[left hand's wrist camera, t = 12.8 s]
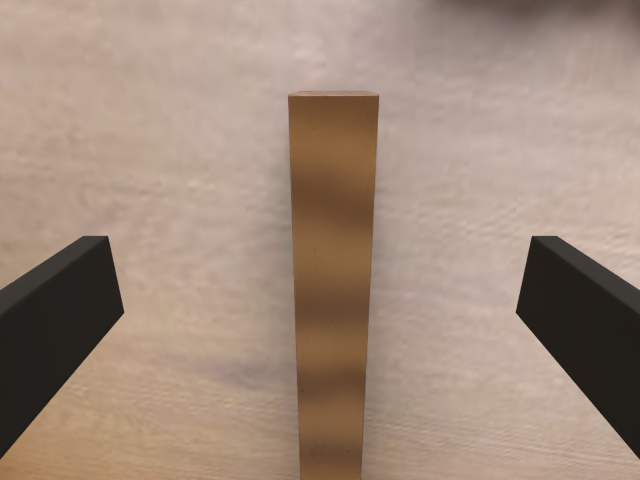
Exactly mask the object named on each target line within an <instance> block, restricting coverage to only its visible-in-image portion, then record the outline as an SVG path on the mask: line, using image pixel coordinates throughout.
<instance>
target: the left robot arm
mask: <svg viewBox="0 0 640 480" xmlns="http://www.w3.org/2000/svg"><path fill="white" fill-rule="evenodd" d="M123 314H124V309H123V304H122V299H121V295H120V290H119V285H118V281H117V276H116V271H115V266H114V262H113V257H112V252H111V248H110V243H109V238H108V236H82V237H81V238H79V239H78V240H76V241H75V242H73V243H72V244H70V245H69V246H67V247H66V248H64V249H63V250H61V251H60V252H58V253H56V254H55V255H53V256H52V257H50V258H49V259H47V260H46V261H44V262H43V263H41V264H40V265H38V266H37V267H35V268H34V269H32V270H31V271H29V272H27V273H26V274H24V275H23V276H21V277H20V278H18V279H17V280H15V281H14V282H12V283H11V284H9V285H8V286H6V287H5V288H3V289H1V290H0V459H1V458H2V457H3V456H4V454H5V453H6V452H7V451H8V450H9V448H10V447H11V446H12V445H13V444H14V443H15V441H16V440H17V439H18V438H19V437H20V435H21V434H22V433H23V432H24V431H25V430H26V428H27V427H28V426H29V425H30V424H31V422H32V421H33V420H34V419H35V418H36V417H37V415H38V414H39V413H40V412H41V411H42V409H43V408H44V407H45V406H46V405H47V404H48V402H49V401H50V400H51V399H52V398H53V396H54V395H55V394H56V393H57V392H58V390H59V389H60V388H61V387H62V386H63V385H64V383H65V382H66V381H67V380H68V379H69V377H70V376H71V375H72V374H73V373H74V372H75V370H76V369H77V368H78V367H79V366H80V364H81V363H82V362H83V361H84V360H85V359H86V357H87V356H88V355H89V354H90V353H91V351H92V350H93V349H94V348H95V347H96V346H97V344H98V343H99V342H100V341H101V340H102V338H103V337H104V336H105V335H106V334H107V333H108V331H109V330H110V329H111V328H112V327H113V325H114V324H115V323H116V322H117V321H118V319H119V318H120V317H121V316H122V315H123ZM516 314H517V315H518V316H519V317H520V318H521V320H522V321H523V322H524V323H525V324H526V325H527V327H528V328H529V329H530V330H531V331H532V333H533V334H534V335H535V336H536V337H537V338H538V340H539V341H540V342H541V343H542V344H543V346H544V347H545V348H546V349H547V350H548V351H549V353H550V354H551V355H552V356H553V357H554V359H555V360H556V361H557V362H558V363H559V364H560V366H561V367H562V368H563V369H564V370H565V372H566V373H567V374H568V375H569V376H570V377H571V379H572V380H573V381H574V382H575V383H576V385H577V386H578V387H579V388H580V389H581V391H582V392H583V393H584V394H585V395H586V396H587V398H588V399H589V400H590V401H591V402H592V404H593V405H594V406H595V407H596V408H597V409H598V411H599V412H600V413H601V414H602V415H603V417H604V418H605V419H606V420H607V421H608V422H609V424H610V425H611V426H612V427H613V428H614V430H615V431H616V432H617V433H618V434H619V435H620V437H621V438H622V439H623V440H624V441H625V443H626V444H627V445H628V446H629V447H630V448H631V450H632V451H633V452H634V453H635V454H636V456H637V457H638V458H639V459H640V290H639V289H637V288H635V287H634V286H632V285H631V284H629V283H628V282H626V281H625V280H623V279H622V278H620V277H619V276H617V275H616V274H614V273H613V272H611V271H609V270H608V269H606V268H605V267H603V266H602V265H600V264H599V263H597V262H596V261H594V260H593V259H591V258H590V257H588V256H587V255H585V254H584V253H582V252H580V251H579V250H577V249H576V248H574V247H573V246H571V245H570V244H568V243H567V242H565V241H564V240H562V239H561V238H559V237H558V236H532V238H531V243H530V248H529V252H528V257H527V262H526V266H525V271H524V276H523V281H522V285H521V290H520V295H519V299H518V304H517V309H516Z"/></svg>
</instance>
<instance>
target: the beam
mask: <svg viewBox="0 0 640 480" xmlns="http://www.w3.org/2000/svg"><path fill="white" fill-rule="evenodd" d="M288 107H289V138H290V169H291V200H292V231H293V263H294V294H295V325H296V356H297V387H298V418H299V450H300V480H361V464H362V443H363V422H364V401H365V380H366V359H367V338H368V318H369V297H370V276H371V255H372V234H373V213H374V192H375V171H376V150H377V129H378V108H379V95H378V94H374V93H371V92H367V91H300V92H297V93H293V94H290V95H288Z"/></svg>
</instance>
